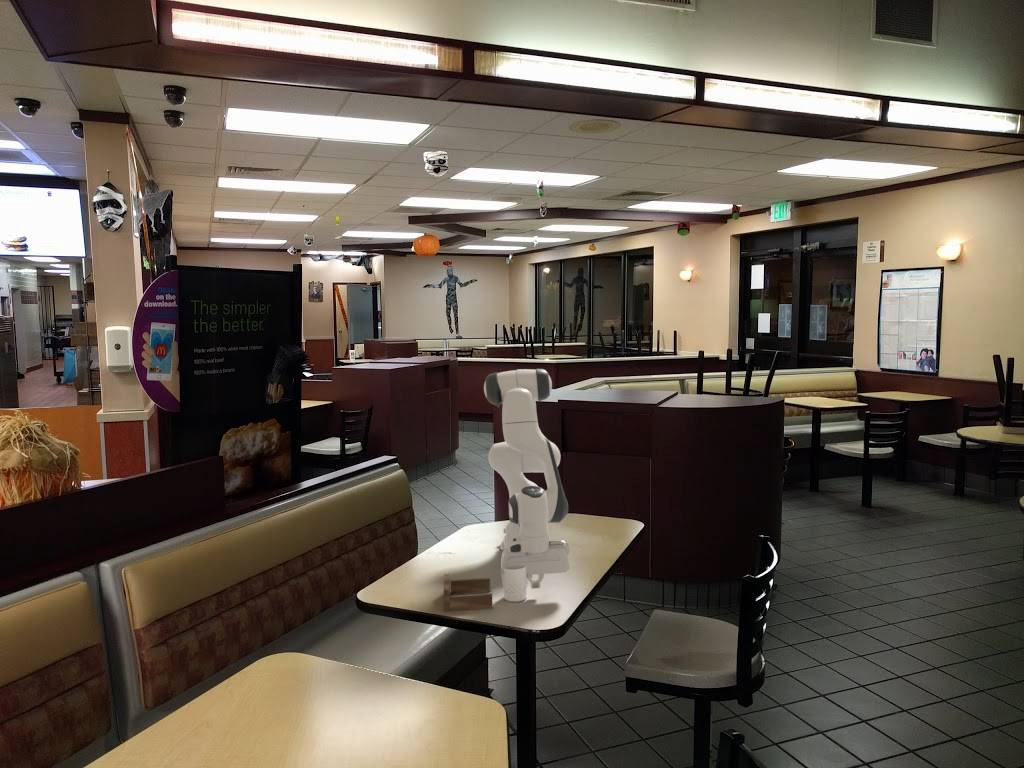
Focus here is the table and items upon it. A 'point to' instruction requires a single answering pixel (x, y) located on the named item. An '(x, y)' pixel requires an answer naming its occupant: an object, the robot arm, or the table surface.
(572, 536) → the table surface
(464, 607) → the open brown box
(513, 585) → the white cup
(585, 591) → the table surface
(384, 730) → the table surface
